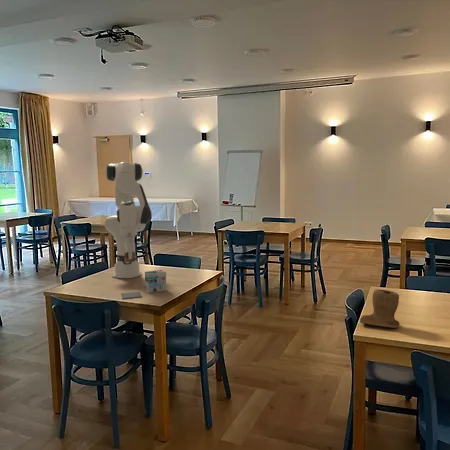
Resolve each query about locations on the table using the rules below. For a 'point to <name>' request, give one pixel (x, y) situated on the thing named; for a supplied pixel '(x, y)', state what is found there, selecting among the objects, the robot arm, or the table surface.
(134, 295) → the slate mat
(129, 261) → the lettered cube
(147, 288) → the light bulb box
